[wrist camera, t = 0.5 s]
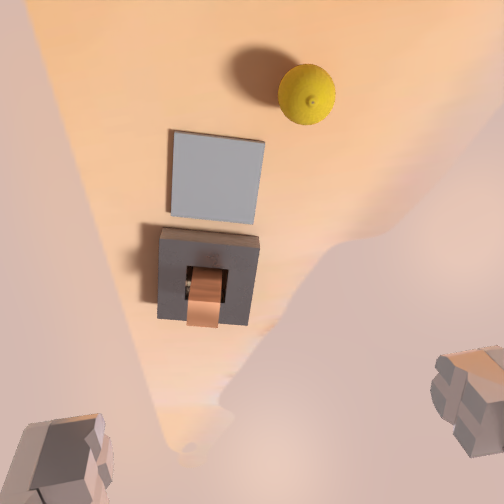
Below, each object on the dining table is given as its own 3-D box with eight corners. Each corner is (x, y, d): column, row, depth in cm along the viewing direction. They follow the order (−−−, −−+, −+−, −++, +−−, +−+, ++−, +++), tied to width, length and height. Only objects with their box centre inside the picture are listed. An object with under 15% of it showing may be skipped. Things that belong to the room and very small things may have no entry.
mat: (175, 130, 46) (174, 132, 45) (264, 141, 47) (265, 143, 46) (171, 213, 50) (170, 216, 50) (252, 221, 51) (253, 224, 51)
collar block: (163, 227, 51) (159, 238, 49) (258, 236, 52) (259, 248, 50) (160, 304, 57) (157, 318, 55) (246, 311, 58) (247, 325, 56)
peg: (194, 259, 54) (188, 300, 46) (222, 261, 54) (220, 302, 46) (193, 282, 56) (186, 325, 48) (219, 284, 56) (217, 327, 48)
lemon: (271, 112, 45) (277, 130, 38) (279, 57, 42) (287, 64, 35) (320, 118, 46) (336, 136, 39) (331, 64, 43) (350, 72, 36)
